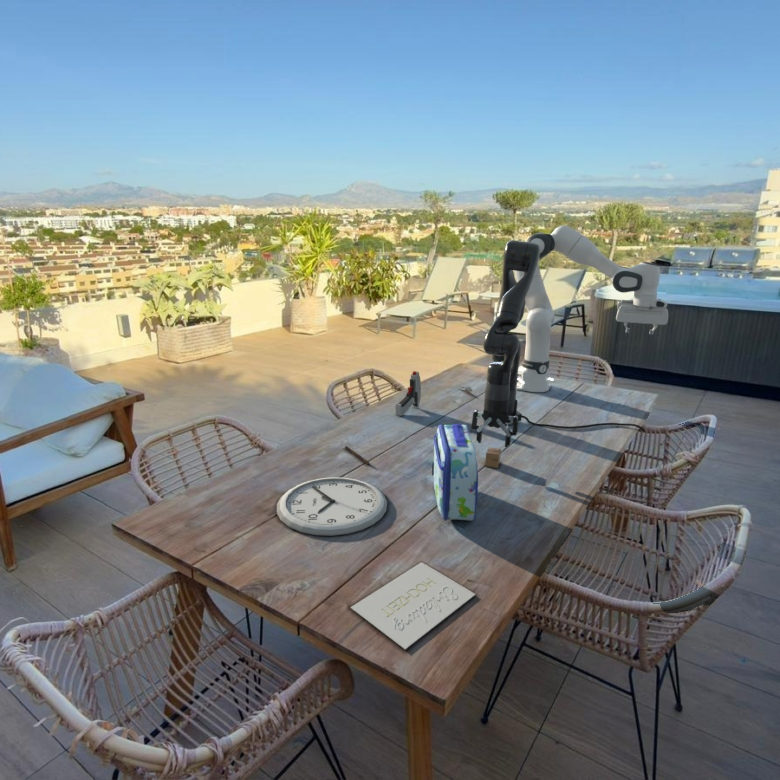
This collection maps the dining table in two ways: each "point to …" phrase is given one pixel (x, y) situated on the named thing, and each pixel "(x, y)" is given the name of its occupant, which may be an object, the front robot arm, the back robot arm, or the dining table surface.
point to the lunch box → (455, 472)
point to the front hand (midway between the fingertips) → (493, 444)
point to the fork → (464, 389)
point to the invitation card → (412, 604)
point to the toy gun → (410, 395)
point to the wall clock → (331, 506)
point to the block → (493, 457)
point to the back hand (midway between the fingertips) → (639, 333)
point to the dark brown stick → (357, 455)
